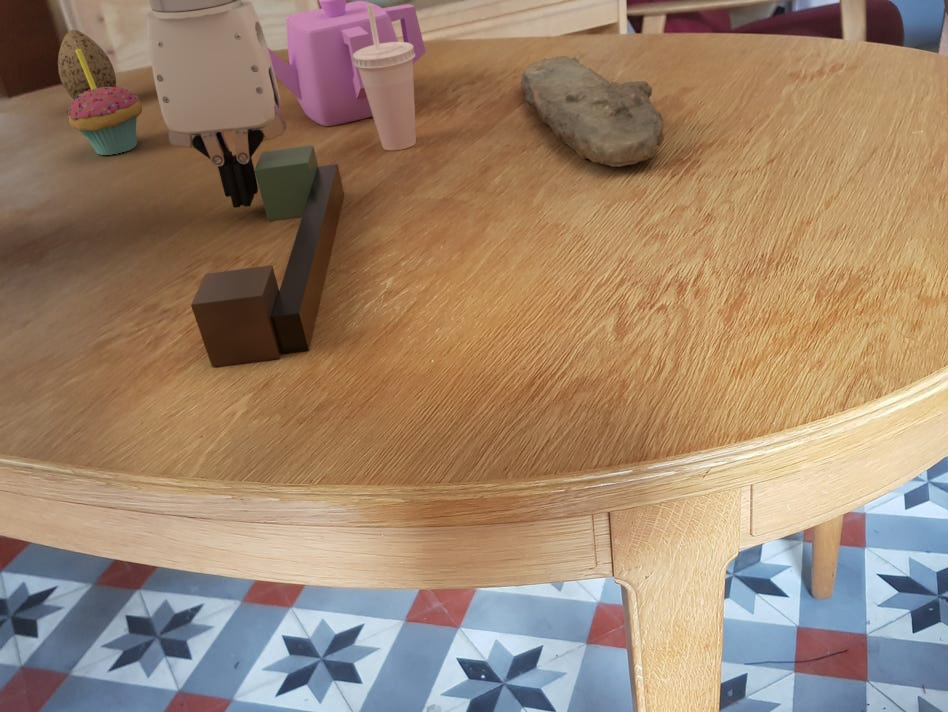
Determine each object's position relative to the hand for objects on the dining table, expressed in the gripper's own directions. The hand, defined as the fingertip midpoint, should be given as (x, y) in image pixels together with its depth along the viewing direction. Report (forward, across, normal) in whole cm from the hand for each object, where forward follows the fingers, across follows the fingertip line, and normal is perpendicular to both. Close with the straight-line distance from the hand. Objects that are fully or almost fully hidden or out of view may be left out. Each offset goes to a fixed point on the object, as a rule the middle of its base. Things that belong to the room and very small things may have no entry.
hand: (244, 201), depth 91 cm
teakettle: (+1, -8, -33) cm, 34 cm away
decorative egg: (+2, +29, -50) cm, 58 cm away
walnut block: (+1, -5, +27) cm, 28 cm away
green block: (+1, -5, 0) cm, 5 cm away
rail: (+1, -8, +14) cm, 16 cm away
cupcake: (+2, +20, -28) cm, 35 cm away
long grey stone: (0, -34, -14) cm, 37 cm away
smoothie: (+1, -14, -15) cm, 21 cm away
